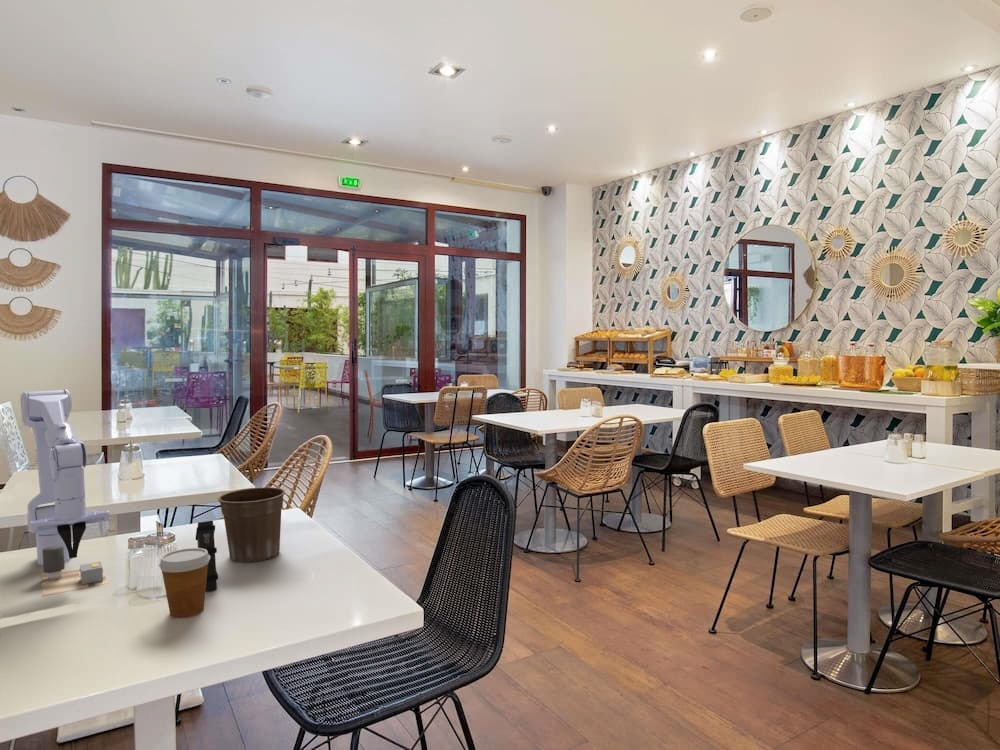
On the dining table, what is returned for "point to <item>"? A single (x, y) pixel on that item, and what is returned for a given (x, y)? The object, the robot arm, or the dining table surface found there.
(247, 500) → the plant pot
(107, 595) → the dining table surface
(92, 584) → the plank
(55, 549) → the dark grey piece
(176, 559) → the disposable coffee cup
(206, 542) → the black stepped upright piece
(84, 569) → the block
